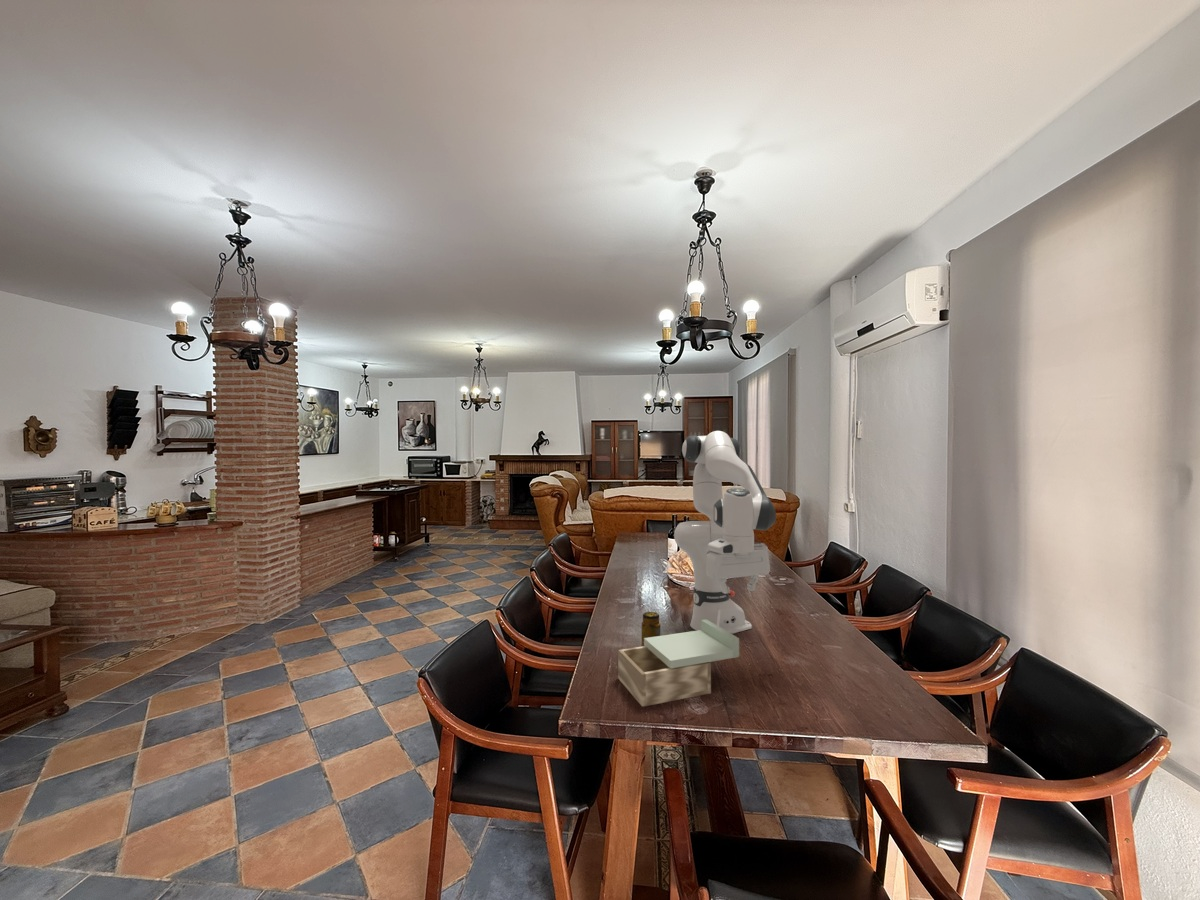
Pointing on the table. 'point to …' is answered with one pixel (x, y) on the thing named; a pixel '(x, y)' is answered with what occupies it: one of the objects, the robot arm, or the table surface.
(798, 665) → the table surface
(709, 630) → the lid
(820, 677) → the table surface
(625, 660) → the box
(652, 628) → the condiment
